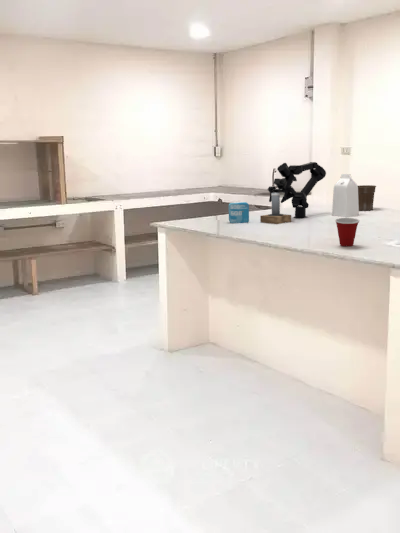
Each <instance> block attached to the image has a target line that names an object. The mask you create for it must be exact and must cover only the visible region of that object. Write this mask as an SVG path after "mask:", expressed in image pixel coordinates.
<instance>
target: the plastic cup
mask: <svg viewBox="0 0 400 533" xmlns="http://www.w3.org/2000/svg"><path fill="white" fill-rule="evenodd" d="M334 221H335V223H336V228H337V234H338V240H339V245H340V246H341V247H353V246H354V244H355V239H356V235H357V234H356V233H357V228H358V225H359V223H360V219H358V218H353V217H340V218H339V217H338V218H335V219H334Z"/></svg>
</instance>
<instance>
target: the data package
mask: <svg viewBox="0 0 400 533" xmlns="http://www.w3.org/2000/svg"><path fill="white" fill-rule="evenodd" d="M249 205H250V204H249V203H248V202H247V201H246V202H230V203H229V204H228V221H229V223H230V224H243V223H246V224H247V223H249V221H250V206H249Z"/></svg>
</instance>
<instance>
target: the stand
mask: <svg viewBox="0 0 400 533" xmlns="http://www.w3.org/2000/svg"><path fill="white" fill-rule="evenodd" d="M259 220H260V223H264V224H273V225H278V224H285V222H286V223H291V222H292V214H287V213H286V214H285V213H280V215H272V213H269V214H268V213H267V214H264V215H263V214H262V215H260V219H259Z"/></svg>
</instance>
